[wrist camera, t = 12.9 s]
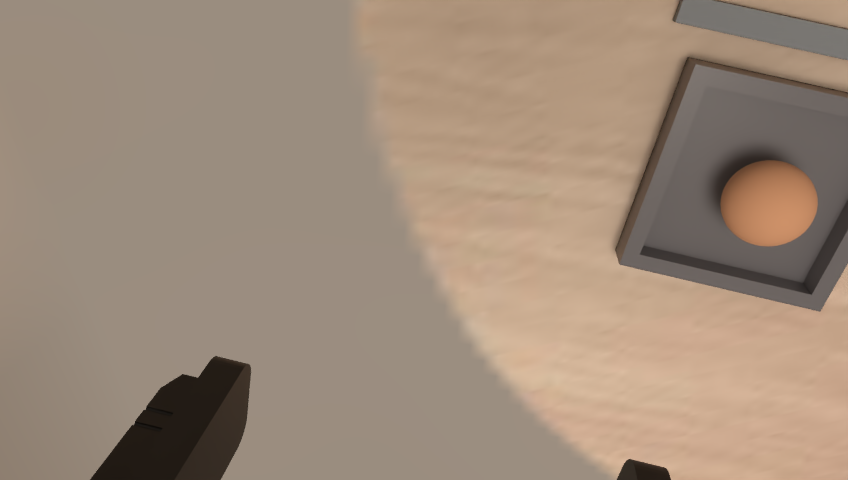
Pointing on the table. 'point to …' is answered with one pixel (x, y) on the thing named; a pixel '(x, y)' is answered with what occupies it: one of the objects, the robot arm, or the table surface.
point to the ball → (769, 203)
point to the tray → (718, 161)
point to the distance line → (764, 26)
